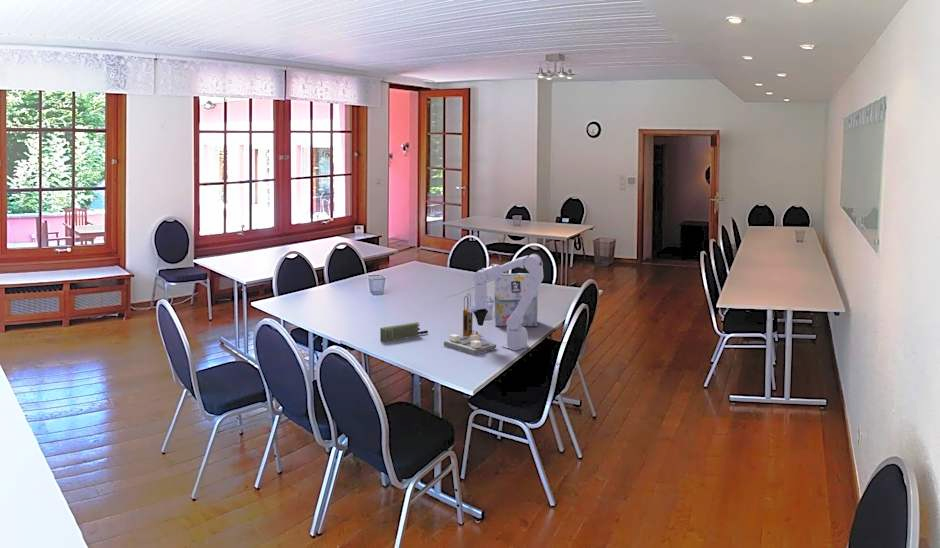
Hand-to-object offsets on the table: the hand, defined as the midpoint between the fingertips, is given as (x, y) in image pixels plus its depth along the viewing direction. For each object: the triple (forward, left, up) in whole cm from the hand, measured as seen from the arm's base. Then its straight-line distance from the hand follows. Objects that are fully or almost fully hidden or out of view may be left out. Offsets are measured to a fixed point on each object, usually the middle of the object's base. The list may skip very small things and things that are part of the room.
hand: (480, 325), depth 349 cm
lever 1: (+10, -7, -7) cm, 14 cm away
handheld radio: (+18, -33, -10) cm, 39 cm away
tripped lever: (+4, 0, -7) cm, 8 cm away
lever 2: (+10, +7, -7) cm, 14 cm away
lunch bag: (-39, -14, -10) cm, 43 cm away
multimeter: (-9, -13, -10) cm, 19 cm away
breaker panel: (+7, 0, -9) cm, 11 cm away
